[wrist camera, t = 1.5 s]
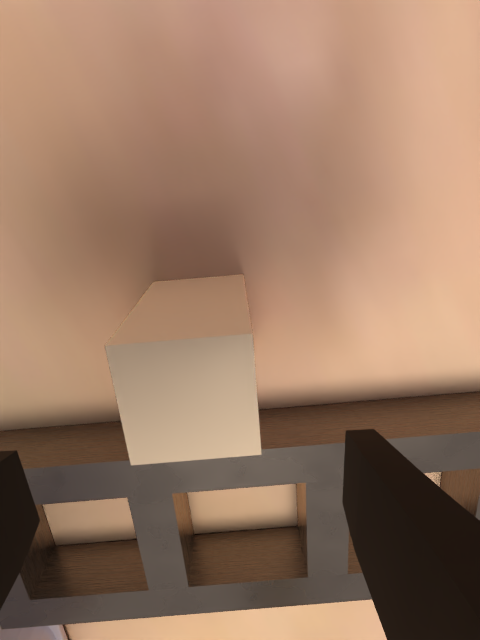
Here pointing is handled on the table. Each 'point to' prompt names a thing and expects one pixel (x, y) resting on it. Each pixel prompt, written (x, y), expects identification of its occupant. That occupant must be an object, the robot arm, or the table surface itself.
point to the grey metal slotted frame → (229, 547)
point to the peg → (187, 372)
